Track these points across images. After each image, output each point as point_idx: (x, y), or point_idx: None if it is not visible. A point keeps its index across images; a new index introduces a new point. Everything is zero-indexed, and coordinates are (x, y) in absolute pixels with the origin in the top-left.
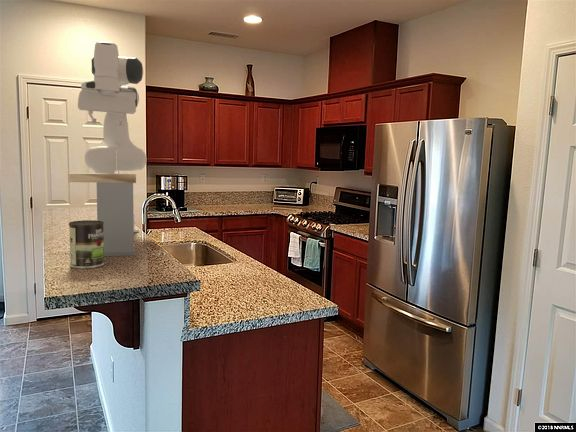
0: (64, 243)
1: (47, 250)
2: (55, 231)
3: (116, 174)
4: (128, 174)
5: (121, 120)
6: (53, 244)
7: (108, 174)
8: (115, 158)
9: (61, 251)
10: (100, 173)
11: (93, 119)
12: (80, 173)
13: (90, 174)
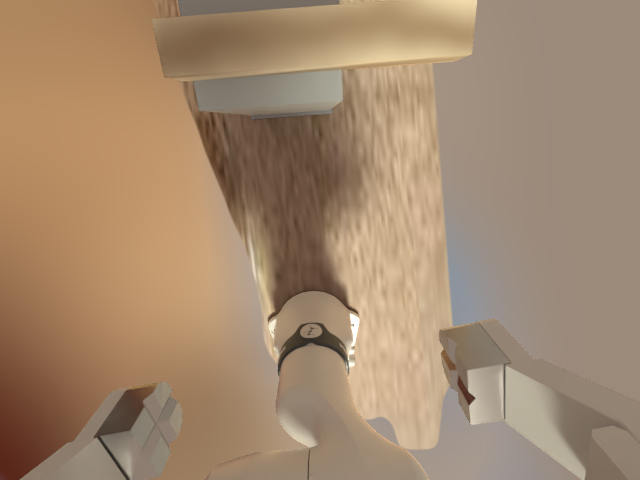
0: (410, 209)
1: (437, 135)
2: (438, 336)
3: (247, 11)
4: (189, 22)
5: (99, 435)
6: (431, 200)
7: (286, 8)
8: (311, 478)
9: (408, 121)
10: (331, 63)
11: (503, 350)
12: (421, 12)
13: (372, 3)
